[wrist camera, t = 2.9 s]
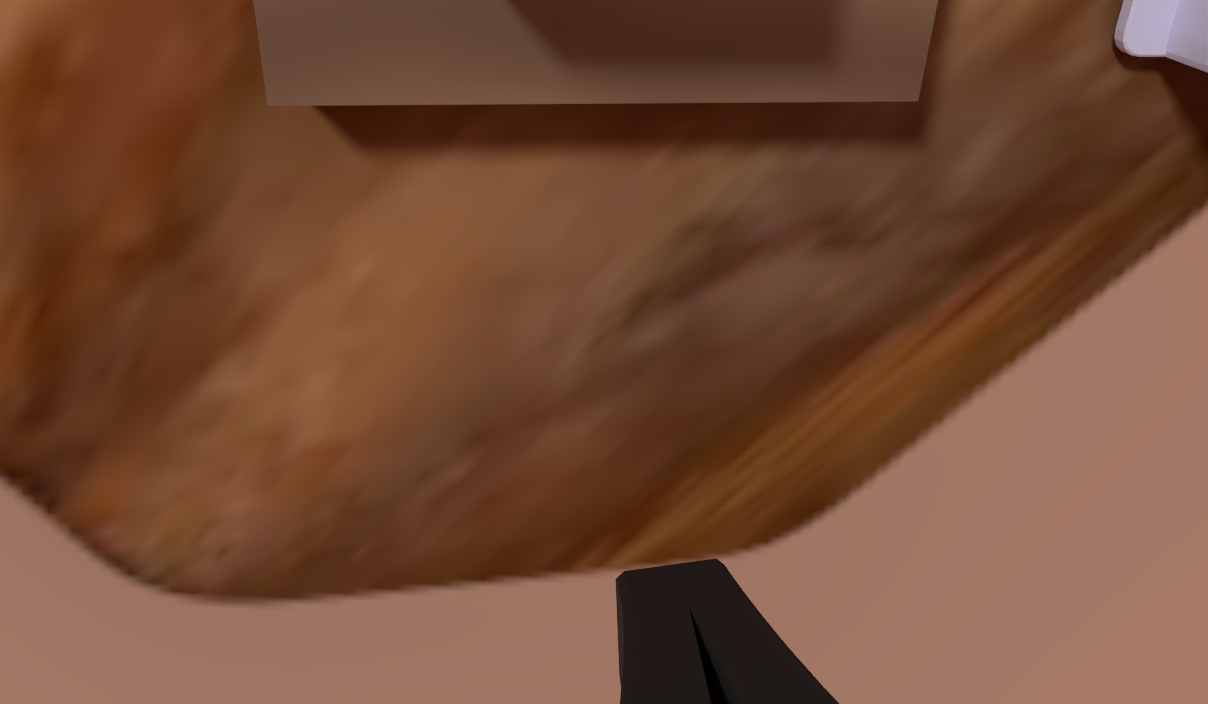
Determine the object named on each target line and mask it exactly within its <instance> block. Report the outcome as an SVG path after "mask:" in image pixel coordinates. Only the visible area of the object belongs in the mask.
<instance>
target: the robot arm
mask: <svg viewBox="0 0 1208 704" xmlns="http://www.w3.org/2000/svg"><path fill="white" fill-rule="evenodd" d="M1114 39H1115V43H1116V46H1117V47H1118V48H1119V49H1120V50H1121V51H1122V52H1124V53H1127V54H1129V55H1133V56H1137V57H1167V58H1170V59H1172V60H1175V61H1178V62H1180V63H1183V64H1186V65H1188V66H1191V67H1194V68H1196V69H1199V70H1202V71H1204V72H1207V73H1208V0H1124V1H1123V4H1122V8H1121V11H1120V15H1119V18H1118V22H1117V25H1116V28H1115V36H1114ZM616 598H617V622H618V648H619V673H620V682H621V698H620V704H839V703H838V702H837V701H836V700H835V699H834V698H833V697H832V696H831V694H830V693H829V692H828V691H827V690H826V689H825V688H824V687H823V686H822V685H821V684H820V683H819V681H818V680H817V679H816V678H815V677H814V676H813V675H812V674H811V672H810V671H809V670H808V669H807V668H806V667H805V666H804V665H803V664H802V662H801V661H800V660H799V659H798V658H797V657H796V656H795V655H794V653H793V652H792V651H791V650H790V649H789V648H788V647H787V645H786V644H785V643H784V642H783V641H782V640H781V638H780V637H779V636H778V635H777V633H776V632H775V631H774V630H773V629H772V627H771V626H770V625H769V624H768V622H767V621H766V620H765V619H764V617H763V616H762V615H761V614H760V612H759V611H758V610H757V609H756V607H755V606H754V605H753V603H752V602H751V601H750V600H749V598H748V597H747V596H746V594H745V593H744V592H743V591H742V589H741V588H740V586H739V585H738V583H737V582H736V581H735V580H734V578H733V577H732V575H731V574H730V572H729V571H728V569H727V568H726V567H725V565H724V564H723V563H721V562H720V561H719V560H717V559H710V560H703V561H695V562H688V563H681V564H673V565H666V566H659V567H652V568H644V569H637V570H630V571H624V572H623V573H622V574H621V575H620V576H619V577H618V578H616Z"/></svg>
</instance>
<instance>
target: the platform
mask: <svg viewBox="0 0 1208 704" xmlns="http://www.w3.org/2000/svg"><path fill="white" fill-rule="evenodd" d="M253 1H254V9H255V16H256V24H257V31H258V38H259V46H260V53H261V61H262V68H263V75H264V83H265V90H266V97H267V105H268V106H333V105H477V104H620V103H764V102H907V101H918V100H919V95H920V90H921V85H922V80H923V75H924V70H925V65H926V60H927V55H928V49H929V44H930V39H931V34H932V29H933V24H934V19H935V14H936V9H937V4H938V0H253Z"/></svg>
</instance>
